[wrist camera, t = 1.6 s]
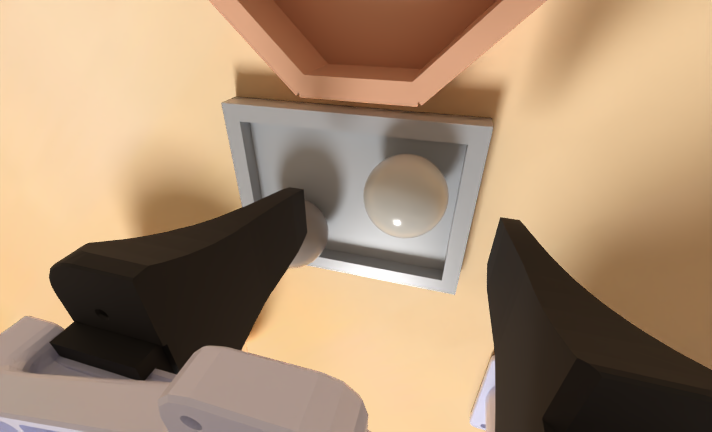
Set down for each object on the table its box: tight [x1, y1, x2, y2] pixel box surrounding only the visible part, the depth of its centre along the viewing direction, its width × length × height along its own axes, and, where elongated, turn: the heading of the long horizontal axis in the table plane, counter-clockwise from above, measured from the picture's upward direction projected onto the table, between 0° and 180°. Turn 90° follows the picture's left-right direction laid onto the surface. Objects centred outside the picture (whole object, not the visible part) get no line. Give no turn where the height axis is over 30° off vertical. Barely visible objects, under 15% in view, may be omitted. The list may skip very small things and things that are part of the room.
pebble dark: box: [288, 200, 329, 268], centre depth 17 cm, size 4×4×4 cm
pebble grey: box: [363, 154, 449, 238], centre depth 15 cm, size 4×4×4 cm
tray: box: [221, 97, 493, 295], centre depth 17 cm, size 12×9×1 cm
